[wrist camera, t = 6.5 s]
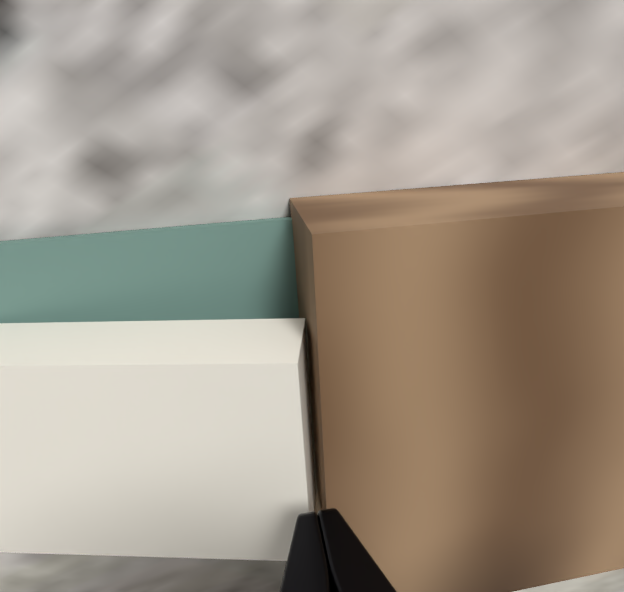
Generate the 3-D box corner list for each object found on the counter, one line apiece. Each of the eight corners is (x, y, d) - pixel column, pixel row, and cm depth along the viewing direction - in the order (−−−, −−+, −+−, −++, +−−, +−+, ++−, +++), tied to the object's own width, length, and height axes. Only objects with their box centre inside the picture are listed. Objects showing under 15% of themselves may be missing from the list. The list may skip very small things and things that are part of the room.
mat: (290, 217, 11) (291, 219, 11) (311, 502, 15) (312, 509, 15) (-70, 247, 10) (-79, 250, 10) (62, 545, 14) (59, 552, 14)
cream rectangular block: (305, 318, 10) (297, 363, 8) (316, 495, 12) (312, 561, 10) (-38, 323, 10) (-118, 366, 9) (36, 490, 13) (-15, 551, 11)
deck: (650, 170, 12) (824, 188, 8) (570, 466, 17) (659, 560, 13) (289, 198, 11) (312, 234, 7) (312, 511, 16) (332, 629, 12)
